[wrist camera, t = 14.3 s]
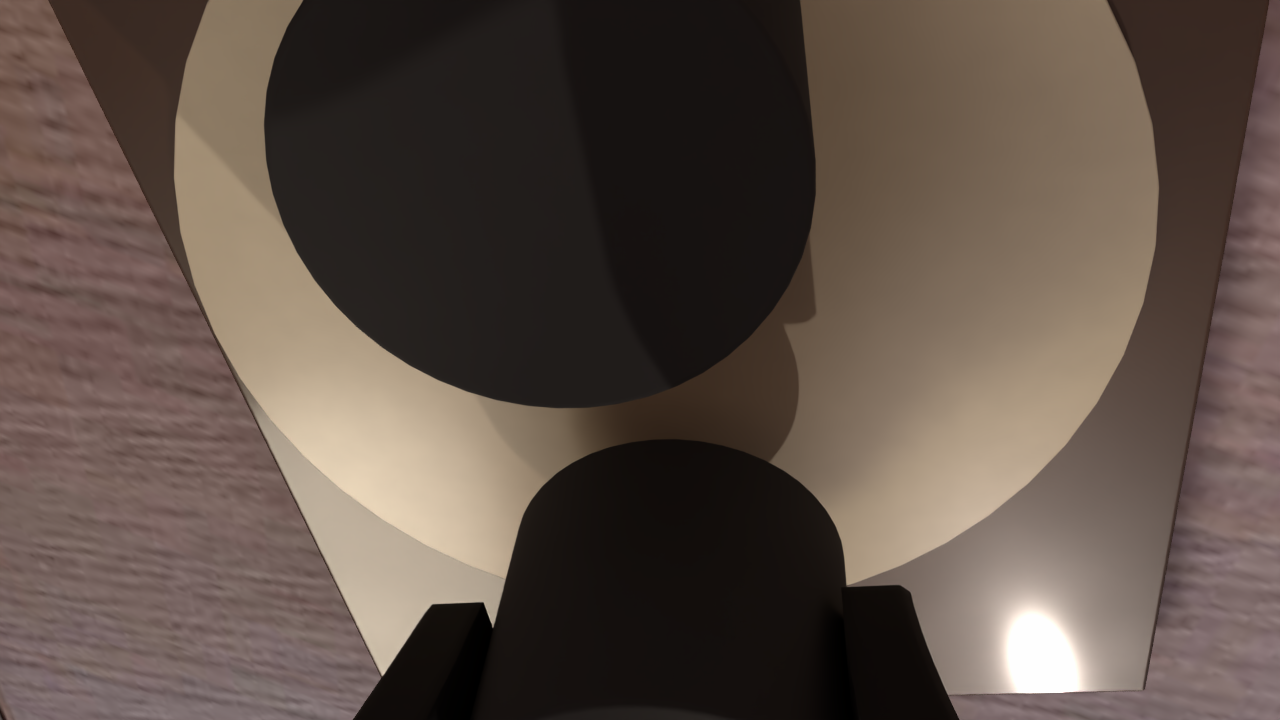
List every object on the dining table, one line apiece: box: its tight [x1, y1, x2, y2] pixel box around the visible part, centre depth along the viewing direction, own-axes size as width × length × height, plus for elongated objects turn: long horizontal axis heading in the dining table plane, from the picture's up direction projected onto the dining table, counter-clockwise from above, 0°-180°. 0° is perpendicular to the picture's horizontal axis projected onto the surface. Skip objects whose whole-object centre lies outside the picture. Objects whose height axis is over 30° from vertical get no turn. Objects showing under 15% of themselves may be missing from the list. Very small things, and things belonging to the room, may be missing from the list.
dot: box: [264, 0, 816, 408], centre depth 9 cm, size 4×4×4 cm
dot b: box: [470, 439, 853, 720], centre depth 12 cm, size 4×4×4 cm
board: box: [49, 0, 1269, 696], centre depth 12 cm, size 12×16×1 cm
